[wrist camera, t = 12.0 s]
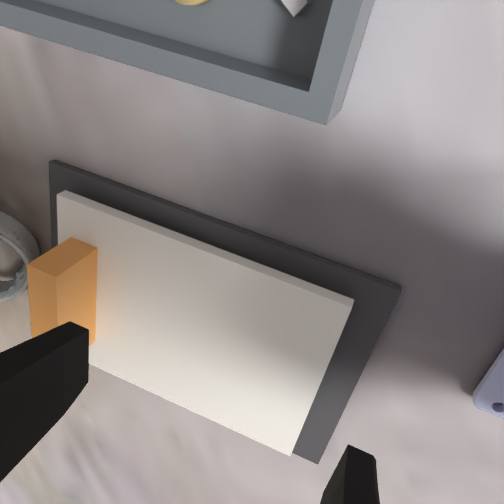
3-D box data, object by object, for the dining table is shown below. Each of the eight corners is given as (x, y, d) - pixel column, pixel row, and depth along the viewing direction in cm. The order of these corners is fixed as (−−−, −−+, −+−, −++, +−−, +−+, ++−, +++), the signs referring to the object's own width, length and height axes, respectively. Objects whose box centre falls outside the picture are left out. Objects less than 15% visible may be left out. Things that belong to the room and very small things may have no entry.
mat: (401, 286, 19) (400, 291, 18) (319, 458, 25) (317, 464, 24) (54, 159, 22) (48, 162, 21) (60, 340, 28) (55, 344, 28)
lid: (356, 291, 19) (339, 352, 16) (296, 438, 24) (273, 506, 21) (74, 185, 22) (8, 217, 18) (75, 338, 27) (23, 384, 24)
